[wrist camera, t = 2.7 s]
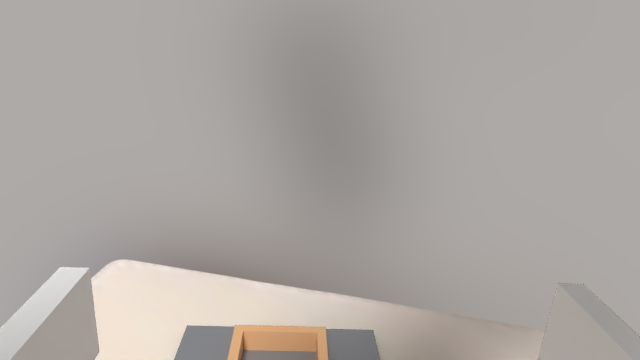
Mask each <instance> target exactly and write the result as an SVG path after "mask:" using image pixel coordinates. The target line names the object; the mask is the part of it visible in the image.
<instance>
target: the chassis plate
mask: <svg viewBox="0 0 640 360" xmlns="http://www.w3.org/2000/svg"><path fill="white" fill-rule="evenodd" d="M174 360H380V358H379V353H378V349H377V345H376V340H375V336H374V331H373V330H347V329H326V327H298V326H257V325H235V327H222V326H187V327H186V330H185V332H184V335H183V338H182V340H181V343H180V346H179V348H178V351H177V354H176V356H175V359H174Z"/></svg>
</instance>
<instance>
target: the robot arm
mask: <svg viewBox="0 0 640 360" xmlns="http://www.w3.org/2000/svg"><path fill="white" fill-rule="evenodd" d="M98 353H99V344H98V336H97V327H96V319H95V310H94V302H93V293H92V285H91V277H90V269H89V268H75V267H74V268H73V267H71V268H70V267H60V268H59V269H58V270H57V271H56V272H55V273H54V274H53V275H52V276H51V277H50V278H49V279H48V280H47V281H46V282H45V283H44V284H43V285H42V286H41V287H40V288H39V289H38V291H36V293H35V294H34V295H33V296H32V297H31V298H30V299H29V300H28V301H27V302H26V303H25V304H24V305H23V306H22V307H21V308H20V309H19V310H18V311H17V312H16V313H15V314H14V315H13V316H12V317H11V318H10V319H9V320H8V321H7V322H6V323H5V324H4V325H3V326H2V327H1V328H0V360H94V359H95V358H96V356H97V355H98ZM538 360H640V336H639V335H638V334H637V333H636V332H635V331H634V330H633V329H631V328H630V327H629V326H628V325H627V324H626V323H625V322H624V321H623V320H622V319H621V318H620V317H619V316H618V315H616V314H615V313H614V312H613V311H612V310H611V309H610V308H609V307H608V306H607V305H606V304H604V302H602V301H601V300H600V299H599V298H598V297H597V296H596V295H595V294H594V293H593V292H592V291H591V290H590V289H589V288H588V287H586V286H585V285H584V284H572V283H569V284H568V283H558V284H557V288H556V292H555V296H554V300H553V304H552V307H551V311H550V316H549V319H548V323H547V327H546V331H545V334H544V338H543V342H542V346H541V350H540V354H539V358H538Z"/></svg>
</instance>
